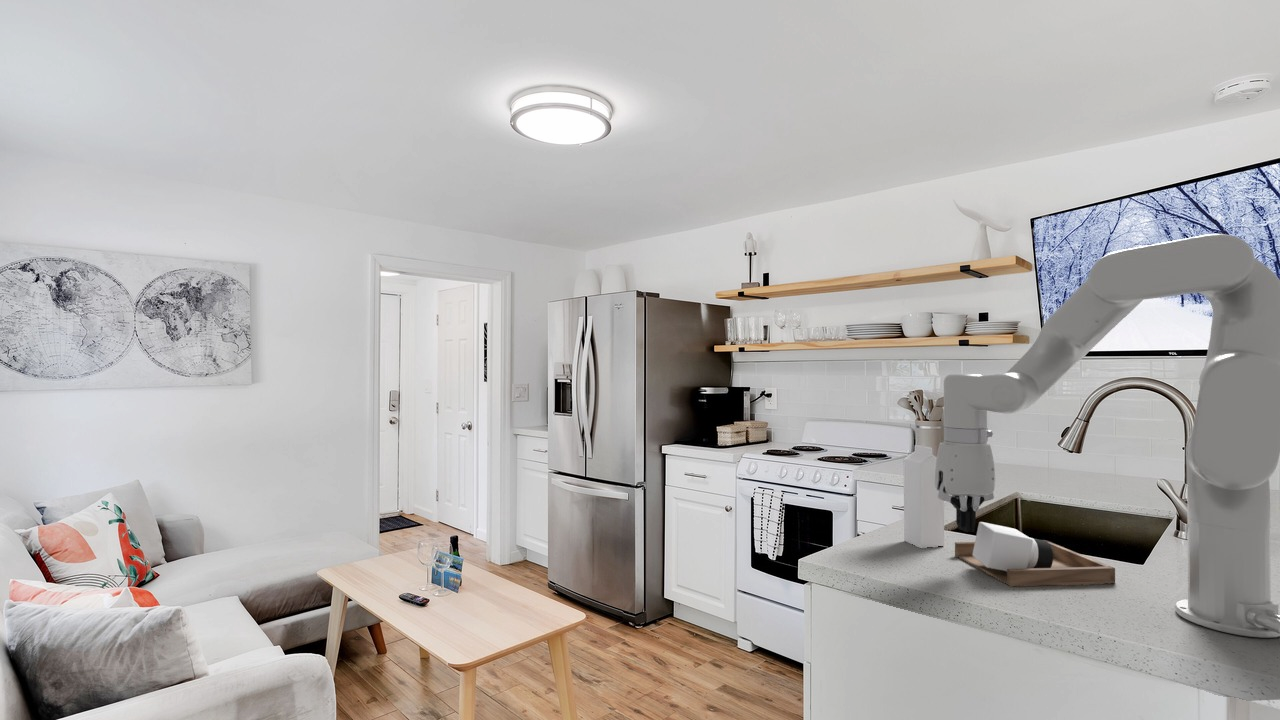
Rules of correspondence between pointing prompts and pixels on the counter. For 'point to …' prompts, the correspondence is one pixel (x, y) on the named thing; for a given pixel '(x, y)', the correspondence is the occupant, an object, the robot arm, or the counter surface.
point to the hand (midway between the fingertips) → (966, 529)
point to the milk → (922, 500)
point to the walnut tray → (1047, 569)
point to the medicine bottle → (1010, 549)
